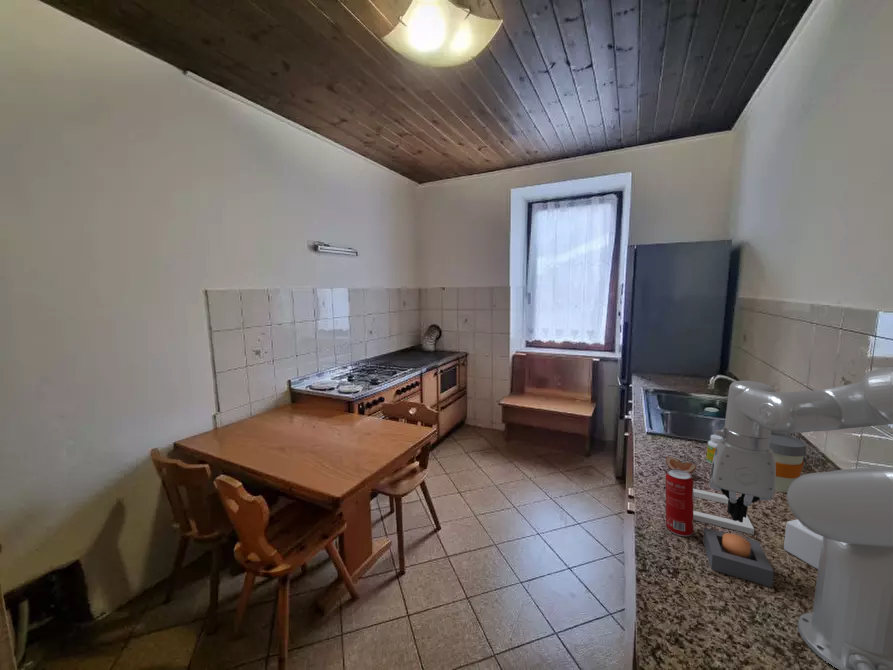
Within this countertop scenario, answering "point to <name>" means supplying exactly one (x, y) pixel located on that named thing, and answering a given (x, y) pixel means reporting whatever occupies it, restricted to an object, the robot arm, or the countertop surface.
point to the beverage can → (679, 502)
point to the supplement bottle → (712, 448)
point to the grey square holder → (738, 560)
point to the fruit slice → (680, 465)
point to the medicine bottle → (803, 543)
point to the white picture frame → (720, 521)
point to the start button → (736, 545)
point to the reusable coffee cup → (787, 459)
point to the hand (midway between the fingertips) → (735, 517)
